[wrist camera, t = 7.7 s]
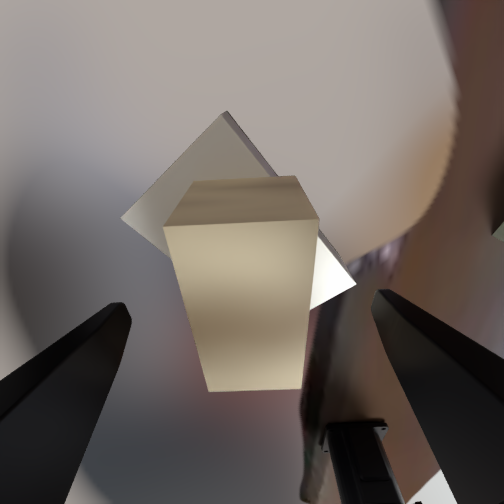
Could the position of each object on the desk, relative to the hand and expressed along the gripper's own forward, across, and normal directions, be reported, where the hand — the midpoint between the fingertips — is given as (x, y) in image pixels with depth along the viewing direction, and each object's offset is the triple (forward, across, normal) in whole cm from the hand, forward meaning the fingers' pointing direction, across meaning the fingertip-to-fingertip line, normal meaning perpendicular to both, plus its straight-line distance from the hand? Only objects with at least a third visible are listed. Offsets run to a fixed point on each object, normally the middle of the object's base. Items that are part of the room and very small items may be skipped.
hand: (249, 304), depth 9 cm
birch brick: (+3, 0, 0) cm, 3 cm away
